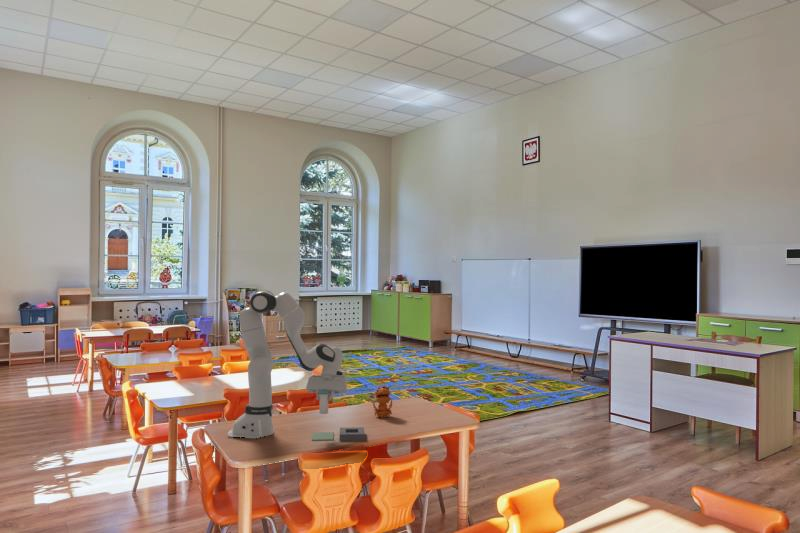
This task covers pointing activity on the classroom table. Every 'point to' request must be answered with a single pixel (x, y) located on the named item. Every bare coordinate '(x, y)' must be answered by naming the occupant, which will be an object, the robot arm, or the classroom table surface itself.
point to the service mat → (322, 436)
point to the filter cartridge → (323, 401)
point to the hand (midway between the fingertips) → (323, 399)
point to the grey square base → (352, 434)
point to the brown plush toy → (383, 402)
